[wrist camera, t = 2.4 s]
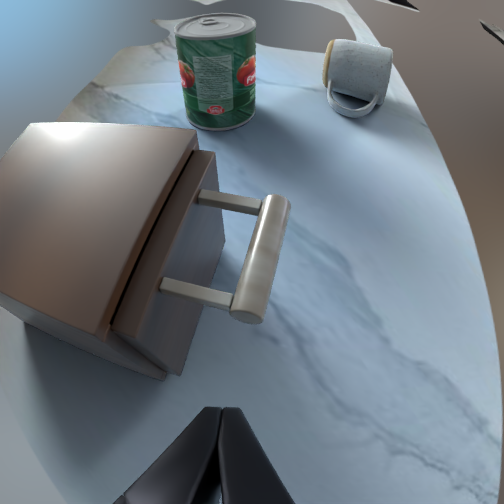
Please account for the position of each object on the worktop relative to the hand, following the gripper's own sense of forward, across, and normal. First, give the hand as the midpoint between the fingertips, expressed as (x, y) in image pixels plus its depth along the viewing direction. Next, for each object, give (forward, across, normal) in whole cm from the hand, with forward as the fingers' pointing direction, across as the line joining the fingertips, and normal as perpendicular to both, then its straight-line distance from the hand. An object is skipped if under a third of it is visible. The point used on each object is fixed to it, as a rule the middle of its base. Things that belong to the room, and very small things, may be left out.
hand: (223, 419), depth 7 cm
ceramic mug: (+35, -14, -15) cm, 40 cm away
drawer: (+15, +6, +2) cm, 16 cm away
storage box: (+16, +10, +2) cm, 19 cm away
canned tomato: (+32, +3, -12) cm, 34 cm away
